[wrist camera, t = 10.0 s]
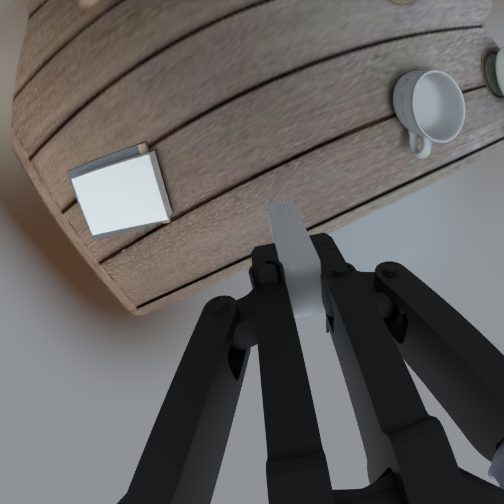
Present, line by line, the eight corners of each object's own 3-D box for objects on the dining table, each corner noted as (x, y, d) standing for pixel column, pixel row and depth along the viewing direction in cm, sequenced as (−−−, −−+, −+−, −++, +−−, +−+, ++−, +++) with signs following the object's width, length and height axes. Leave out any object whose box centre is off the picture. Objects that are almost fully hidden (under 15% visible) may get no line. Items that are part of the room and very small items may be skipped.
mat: (145, 142, 38) (145, 142, 38) (170, 219, 45) (169, 220, 45) (67, 171, 39) (66, 172, 39) (94, 239, 46) (93, 240, 46)
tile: (149, 154, 36) (71, 179, 37) (168, 219, 41) (92, 235, 42) (154, 150, 38) (79, 174, 39) (172, 212, 43) (99, 227, 44)
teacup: (400, 57, 32) (429, 54, 25) (445, 95, 35) (476, 101, 28) (365, 127, 39) (390, 136, 32) (414, 160, 41) (441, 175, 34)
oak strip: (146, 141, 38) (144, 142, 37) (171, 219, 45) (170, 222, 44) (139, 144, 38) (137, 145, 38) (164, 221, 45) (163, 223, 44)
